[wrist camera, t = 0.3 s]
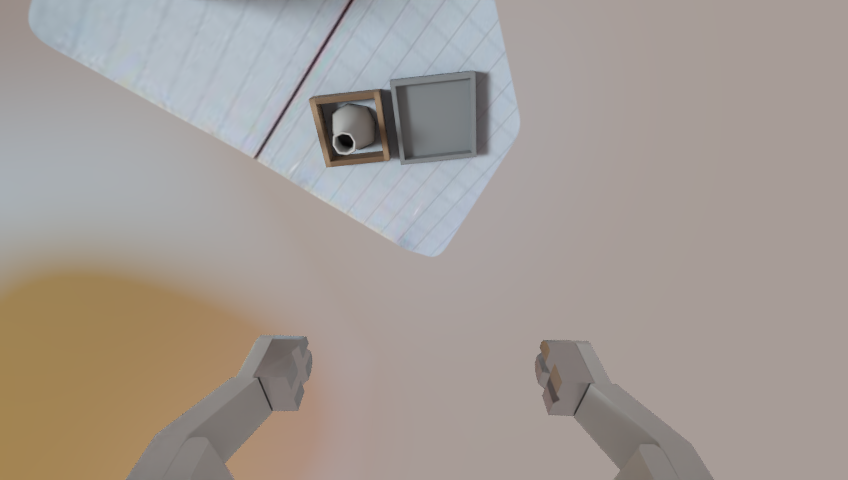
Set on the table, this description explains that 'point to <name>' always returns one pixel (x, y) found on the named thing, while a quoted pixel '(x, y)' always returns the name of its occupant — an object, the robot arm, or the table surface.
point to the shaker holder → (324, 137)
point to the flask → (352, 128)
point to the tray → (435, 116)
